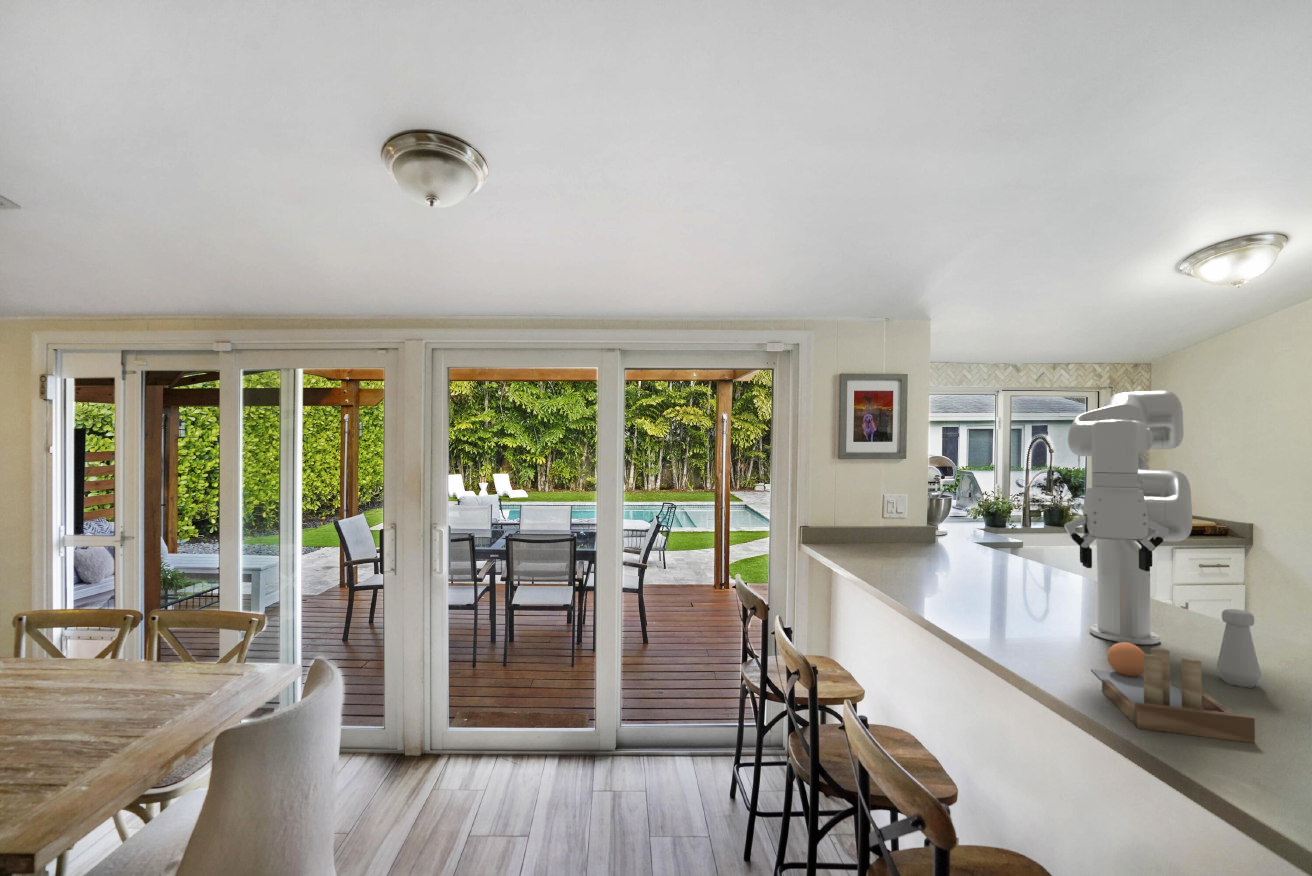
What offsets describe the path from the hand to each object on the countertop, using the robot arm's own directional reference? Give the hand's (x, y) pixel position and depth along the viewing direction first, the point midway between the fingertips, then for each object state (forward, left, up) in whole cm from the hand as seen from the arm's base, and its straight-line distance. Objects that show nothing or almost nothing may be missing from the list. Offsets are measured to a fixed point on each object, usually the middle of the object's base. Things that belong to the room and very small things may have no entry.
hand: (1115, 568), depth 124 cm
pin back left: (+26, +2, -18) cm, 32 cm away
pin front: (+22, -1, -18) cm, 29 cm away
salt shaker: (+6, +17, -19) cm, 26 cm away
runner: (+20, -1, -18) cm, 27 cm away
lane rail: (+26, -1, -18) cm, 32 cm away
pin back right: (+26, -3, -18) cm, 32 cm away
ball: (+8, -1, -15) cm, 17 cm away
